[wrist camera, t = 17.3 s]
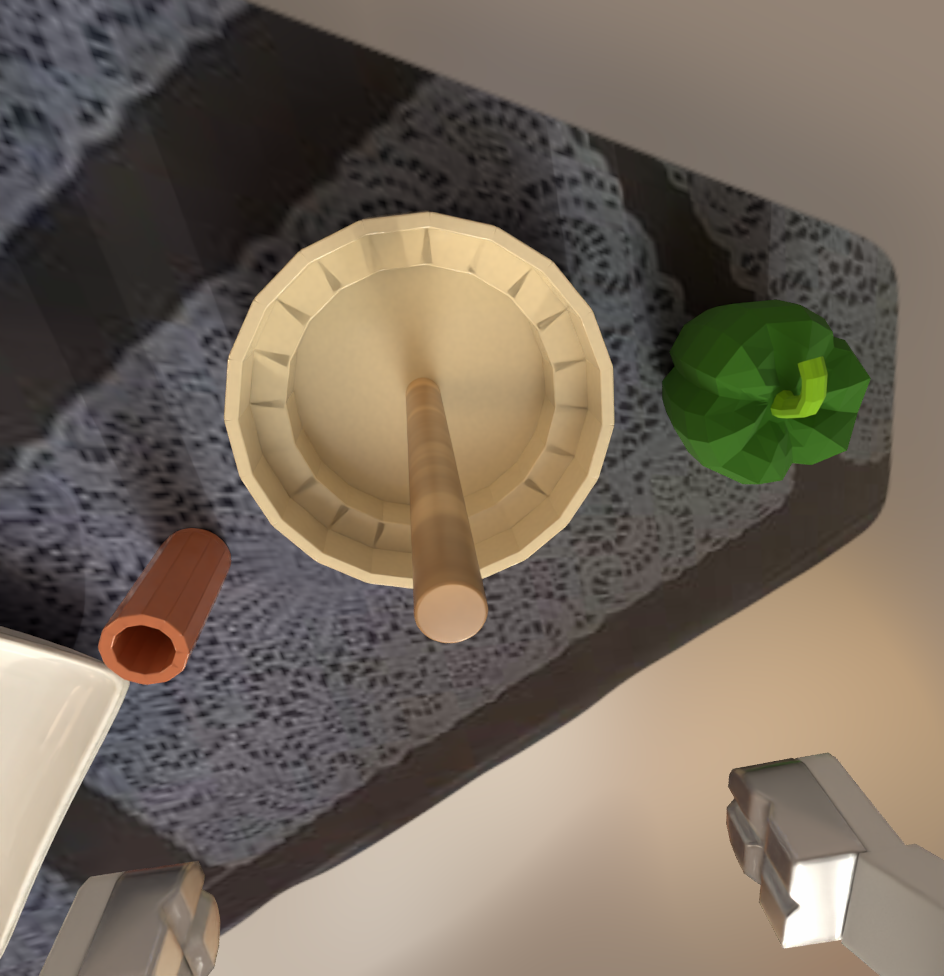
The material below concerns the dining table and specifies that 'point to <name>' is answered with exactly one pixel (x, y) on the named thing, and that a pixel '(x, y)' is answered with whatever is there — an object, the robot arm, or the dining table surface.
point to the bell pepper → (762, 389)
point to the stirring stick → (440, 525)
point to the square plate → (44, 751)
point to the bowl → (394, 365)
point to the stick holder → (166, 608)
